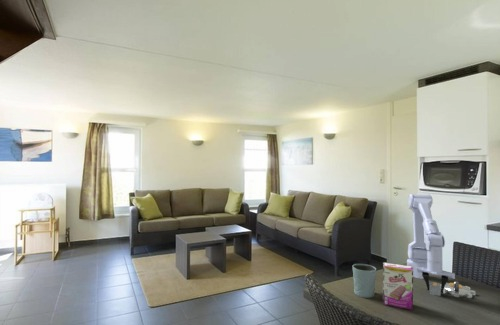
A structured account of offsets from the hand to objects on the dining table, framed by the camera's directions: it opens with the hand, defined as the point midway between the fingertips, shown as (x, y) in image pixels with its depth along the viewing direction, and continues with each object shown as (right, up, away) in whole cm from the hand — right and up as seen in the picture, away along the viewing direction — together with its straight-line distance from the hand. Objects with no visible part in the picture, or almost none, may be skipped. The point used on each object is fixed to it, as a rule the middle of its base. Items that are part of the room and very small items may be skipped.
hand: (435, 291), depth 128 cm
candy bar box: (-22, -2, -9) cm, 24 cm away
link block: (0, -1, 0) cm, 1 cm away
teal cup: (-31, -2, +2) cm, 31 cm away
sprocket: (+11, -1, +2) cm, 12 cm away
